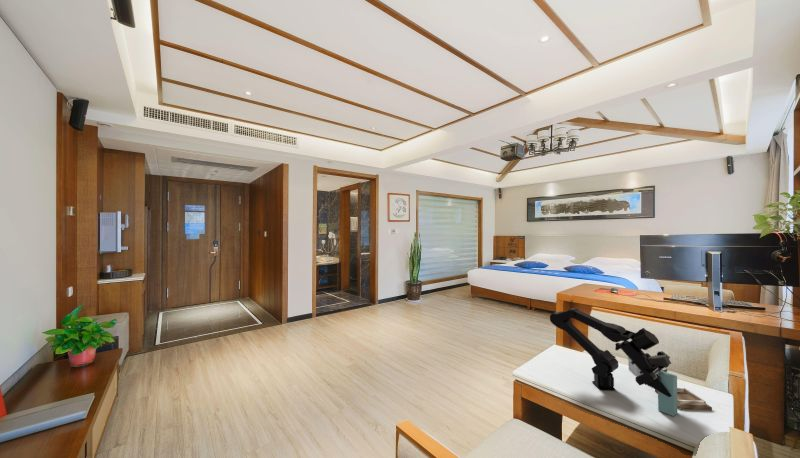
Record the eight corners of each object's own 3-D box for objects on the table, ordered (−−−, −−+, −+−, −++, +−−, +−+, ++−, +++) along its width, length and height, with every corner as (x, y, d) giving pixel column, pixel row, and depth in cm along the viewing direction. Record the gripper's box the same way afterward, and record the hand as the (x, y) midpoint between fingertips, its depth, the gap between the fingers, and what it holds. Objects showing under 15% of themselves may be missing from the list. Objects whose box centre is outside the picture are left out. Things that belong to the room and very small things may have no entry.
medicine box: (648, 378, 137) (648, 360, 137) (637, 377, 138) (637, 359, 138) (638, 370, 145) (638, 352, 145) (628, 369, 146) (627, 352, 146)
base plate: (677, 408, 115) (677, 402, 115) (654, 391, 127) (654, 385, 127) (712, 409, 114) (711, 403, 114) (685, 392, 126) (685, 386, 126)
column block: (673, 416, 111) (673, 379, 110) (658, 410, 114) (657, 374, 114) (677, 411, 113) (677, 375, 113) (662, 405, 117) (661, 370, 117)
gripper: (645, 352, 111) (685, 395, 102) (661, 340, 122) (699, 378, 113) (620, 365, 118) (656, 406, 109) (638, 352, 128) (672, 389, 120)
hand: (672, 394), depth 112 cm, fingers closed on column block, 4 cm apart
